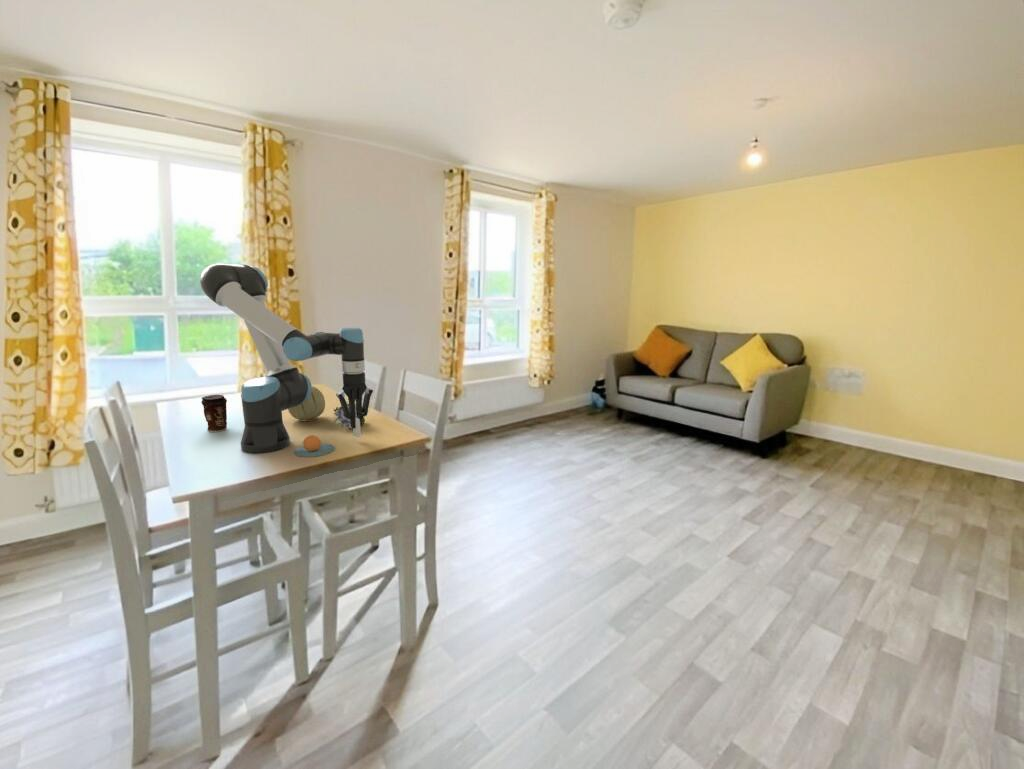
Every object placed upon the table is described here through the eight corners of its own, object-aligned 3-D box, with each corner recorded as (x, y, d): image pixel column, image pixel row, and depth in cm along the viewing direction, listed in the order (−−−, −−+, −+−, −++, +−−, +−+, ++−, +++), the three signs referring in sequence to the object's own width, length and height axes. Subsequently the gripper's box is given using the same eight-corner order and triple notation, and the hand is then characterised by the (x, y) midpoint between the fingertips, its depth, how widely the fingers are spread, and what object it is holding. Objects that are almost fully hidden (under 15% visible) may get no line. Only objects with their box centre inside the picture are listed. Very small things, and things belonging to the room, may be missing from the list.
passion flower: (351, 441, 186) (334, 422, 178) (340, 430, 194) (323, 411, 186) (374, 423, 190) (358, 403, 182) (363, 412, 197) (347, 392, 189)
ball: (326, 447, 161) (311, 457, 158) (318, 440, 164) (303, 450, 161) (320, 436, 157) (305, 446, 155) (312, 429, 161) (297, 438, 158)
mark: (295, 459, 152) (295, 458, 152) (292, 447, 163) (292, 446, 163) (337, 453, 158) (337, 452, 158) (332, 441, 169) (332, 441, 169)
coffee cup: (199, 430, 179) (195, 397, 176) (221, 424, 186) (217, 393, 183) (212, 434, 175) (208, 400, 172) (234, 428, 182) (231, 395, 179)
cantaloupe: (317, 425, 187) (314, 389, 184) (281, 424, 188) (277, 388, 184) (332, 415, 202) (330, 381, 199) (298, 414, 202) (295, 380, 199)
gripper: (339, 375, 158) (343, 442, 163) (375, 371, 167) (378, 435, 172) (331, 372, 164) (335, 437, 169) (366, 368, 172) (369, 430, 177)
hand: (357, 435), depth 170 cm, fingers closed
